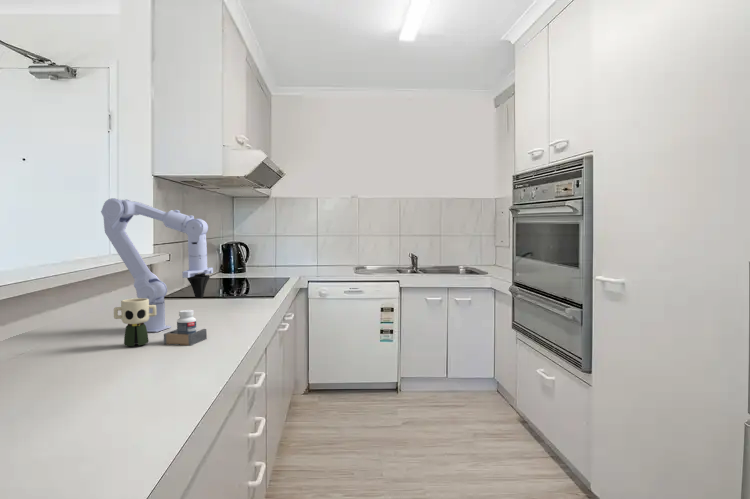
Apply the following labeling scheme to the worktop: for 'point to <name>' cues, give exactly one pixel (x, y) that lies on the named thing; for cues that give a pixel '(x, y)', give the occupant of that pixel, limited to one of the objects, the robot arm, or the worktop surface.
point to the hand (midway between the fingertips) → (199, 297)
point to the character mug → (135, 319)
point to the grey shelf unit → (185, 337)
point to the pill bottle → (186, 322)
